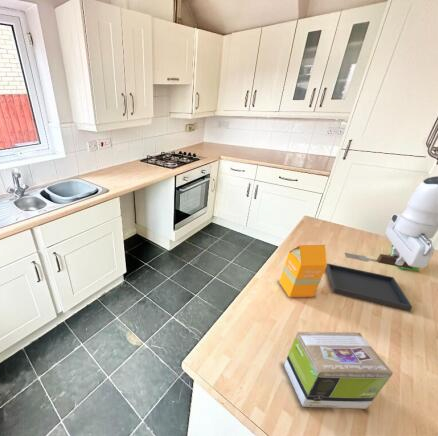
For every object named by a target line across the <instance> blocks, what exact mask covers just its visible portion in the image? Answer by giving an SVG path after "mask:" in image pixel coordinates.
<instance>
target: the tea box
mask: <svg viewBox="0 0 438 436" xmlns="http://www.w3.org/2000/svg"><path fill="white" fill-rule="evenodd" d="M283 367H284V370H285V371H286V373H287V375H288V378H289V380H290V383H291V385H292V386H293V389H294V391H295V393H296V396H297V398H298V400H299V402H300V404H301V405H302V407H308V408H336V409H362V410H363V409H364V410H365V409H368V408H369V406H370V405H371V403H372V402H373V400H374V399H375V398H376V397H377V396H378V394H379V393H380V392H381V391H382V389H383V388H384V386H385V385H386V383H388V381H389V379H390V378H391V377H392V375H393V374H394V372H393V371H392V370H391V369H390V367H389V366H388V365H387V364H386V362H384V361H383V359H382V358H381V357H380V356H379V355H378V353H377V352H376V351H375V350H374V349H373V347H372V346H371V345H370V344H369V342H368V341H367V340H366V339H365V338H364V337H363V335H362V334H361V332H354V331H353V332H351V331H297V333H296V335H295V337H294V339H293V342H292V345H291V348H290V350H289V352H288V354H287V357H286V359H285V362H284V366H283Z"/></svg>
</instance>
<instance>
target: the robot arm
mask: <svg viewBox="0 0 438 436" xmlns="http://www.w3.org/2000/svg"><path fill="white" fill-rule="evenodd" d="M437 232H438V175H437V176H431V177H427V178H425V179H423V180H422V181H421V182H420V183H419V184H418V185H417V186H416V188H415V189H414V191H413V193H412V194H411V196H410V197H409V199H408V201H407V205H406V208H405V210H404V211H402V212H401V213H392V214H391V216H390V221H389V223H388V225H387V227H386V229H385V237H386V239H388V241H389V242H390V243H391V245H393V249H392V255H391V254H390V255H391V256H395V257H399V258H396V259H395V261H394V262H395V264H396V265H399V266H402V265H403V264H404V262H406V263H407V264H408V265H409V266H411V267H416V268H420V269H424V268H427V267H428V265H429V264H430V261H431V259H432V257H433V255H434V252H435V248H434V246H433V241H432V240H431V239H433V238H434V237H435V235H436V234H437Z"/></svg>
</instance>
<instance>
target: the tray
mask: <svg viewBox="0 0 438 436" xmlns="http://www.w3.org/2000/svg"><path fill="white" fill-rule="evenodd" d="M325 271H326V274H327V278H328V280H329V284H330V287H331V290H332V293H334V294H337V295H342V296H346V297H350V298H353V299H358V300H361V301H367V302H370V303H375V304H379V305H382V306H386V307H391V308H394V309H398V310H402V311H407V312H410V311H411V310H412V308H413V306H412V304H411V302H410V301H409V300H408V298H407V296H406V295H405V293H404V292H403V290H402V289H401V287H400V285H399V284H398V282H397V281H396V279H395V278H394V277H393V276H390V275H385V274H380V273H376V272H371V271H366V270H365V271H364V270H361V269H356V268H351V267H346V266H341V265H337V264H333V263H328V262H327V267H326V269H325Z"/></svg>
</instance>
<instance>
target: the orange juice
mask: <svg viewBox="0 0 438 436" xmlns="http://www.w3.org/2000/svg"><path fill="white" fill-rule="evenodd" d="M326 250H327V249H326V244H302V245H301V244H300V245H298V246H296V247H295V248H292V250H290V251H289V252H288V253H287V257H286V260H285V264H284V265H283V269H282V273H281V276H280V278H279V284H280V285H281V287H282V288H283V290H284V291H285V293H286V294H287V296H288V298H305V297H306V298H307V297H308V298H309V297H315V294H316V292H317V290H318V287H319V285H320V284H321V281H322V278H323V276H324V273H325V271H326V267H327V263H328V262H327V261H328V260H327V253H326Z"/></svg>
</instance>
